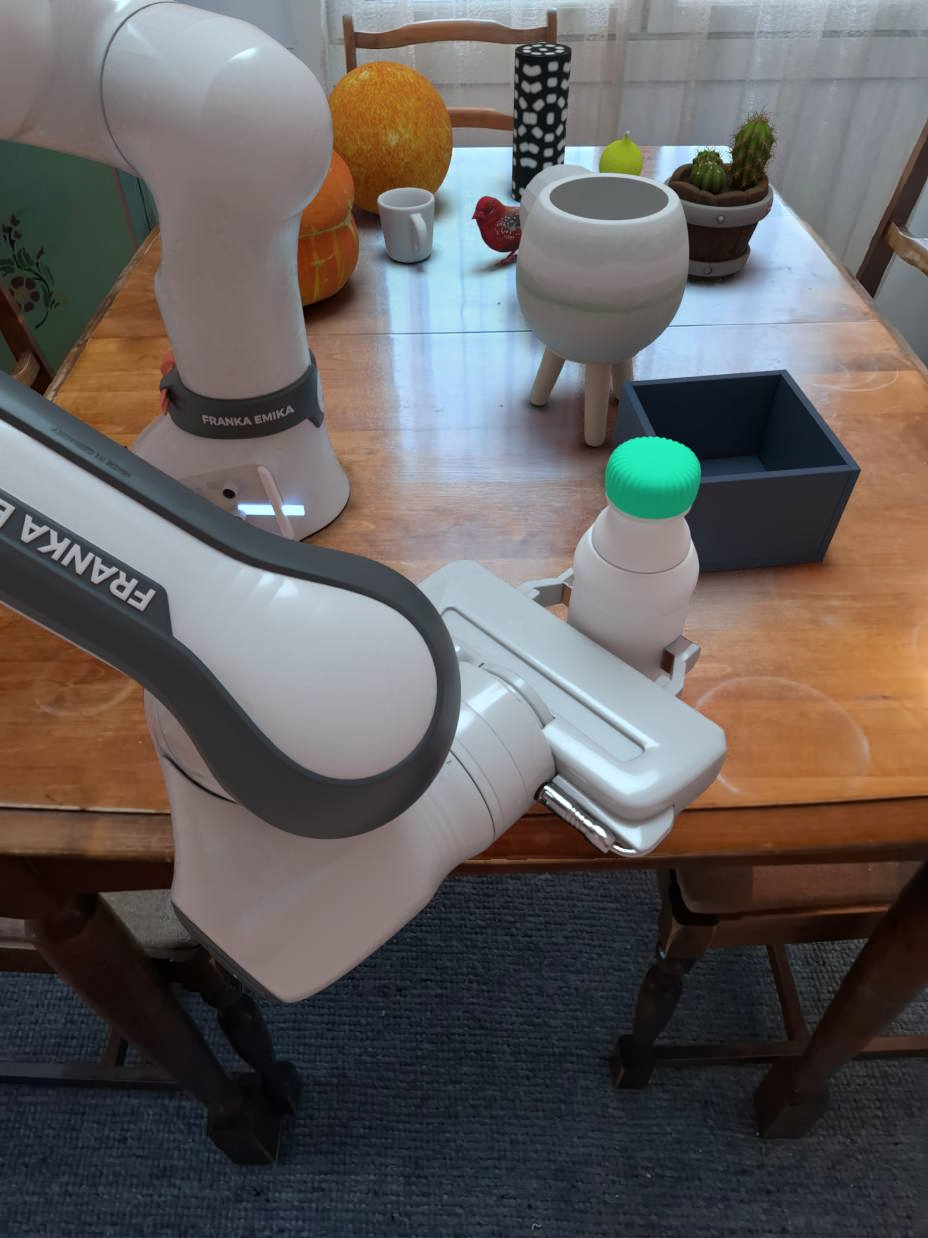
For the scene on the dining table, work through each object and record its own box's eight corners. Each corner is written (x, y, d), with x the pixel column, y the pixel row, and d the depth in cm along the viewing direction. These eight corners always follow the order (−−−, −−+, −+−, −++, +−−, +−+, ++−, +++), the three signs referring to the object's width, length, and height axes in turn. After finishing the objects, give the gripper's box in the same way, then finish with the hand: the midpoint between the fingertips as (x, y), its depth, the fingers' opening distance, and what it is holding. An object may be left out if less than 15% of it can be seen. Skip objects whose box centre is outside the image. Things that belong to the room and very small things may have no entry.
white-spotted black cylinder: (504, 189, 134) (507, 45, 119) (550, 183, 135) (558, 40, 121) (521, 207, 128) (526, 58, 114) (569, 200, 130) (580, 53, 115)
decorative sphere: (339, 188, 135) (322, 46, 121) (457, 188, 135) (454, 44, 120) (320, 236, 122) (298, 82, 107) (451, 235, 121) (447, 80, 106)
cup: (452, 269, 113) (450, 209, 107) (398, 279, 111) (393, 219, 105) (426, 241, 120) (423, 183, 114) (375, 250, 118) (369, 192, 112)
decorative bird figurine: (465, 274, 112) (463, 198, 105) (553, 238, 120) (557, 165, 112) (479, 280, 110) (478, 204, 103) (567, 244, 118) (572, 170, 111)
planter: (489, 393, 91) (490, 179, 74) (615, 365, 94) (643, 156, 78) (549, 472, 80) (566, 245, 64) (688, 438, 84) (738, 214, 68)
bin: (650, 577, 70) (670, 485, 62) (609, 470, 80) (621, 381, 73) (822, 561, 71) (861, 469, 63) (759, 458, 81) (786, 368, 74)
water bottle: (648, 790, 55) (730, 508, 37) (547, 773, 56) (578, 491, 38) (652, 709, 60) (727, 424, 42) (559, 695, 61) (592, 411, 43)
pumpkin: (251, 356, 97) (210, 178, 83) (170, 293, 109) (122, 128, 95) (402, 298, 107) (390, 130, 92) (312, 246, 119) (289, 90, 104)
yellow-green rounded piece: (620, 199, 130) (628, 129, 123) (588, 187, 134) (594, 119, 126) (648, 187, 133) (657, 119, 126) (615, 177, 137) (623, 110, 129)
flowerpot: (644, 287, 108) (669, 118, 93) (653, 241, 118) (677, 83, 103) (755, 297, 106) (799, 125, 91) (754, 249, 116) (794, 88, 101)
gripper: (639, 844, 35) (800, 672, 42) (348, 609, 45) (514, 499, 52) (621, 904, 40) (769, 740, 46) (361, 678, 50) (512, 570, 56)
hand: (632, 612), depth 49 cm, fingers closed on water bottle, 7 cm apart
